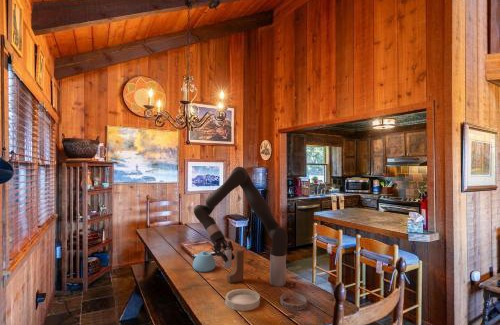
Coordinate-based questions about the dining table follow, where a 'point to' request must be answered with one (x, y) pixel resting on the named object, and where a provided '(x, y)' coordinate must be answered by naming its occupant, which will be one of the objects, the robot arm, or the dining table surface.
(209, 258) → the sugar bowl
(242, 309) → the round tray
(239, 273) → the wooden block
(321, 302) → the dining table surface
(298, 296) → the bracelet
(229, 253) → the grey peg
